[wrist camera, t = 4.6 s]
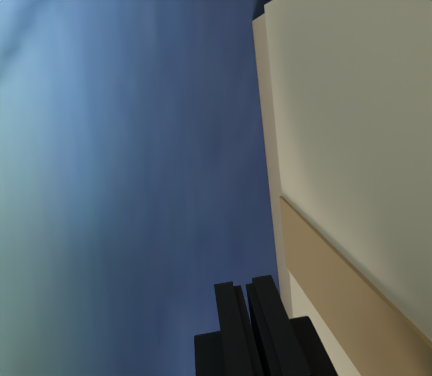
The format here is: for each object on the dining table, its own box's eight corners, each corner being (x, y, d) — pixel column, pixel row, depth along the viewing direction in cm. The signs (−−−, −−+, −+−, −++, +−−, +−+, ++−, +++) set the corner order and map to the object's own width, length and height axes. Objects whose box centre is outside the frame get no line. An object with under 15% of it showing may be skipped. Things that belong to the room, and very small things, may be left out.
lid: (1039, -373, 2) (916, -370, 2) (594, 952, 7) (552, 967, 7) (282, 2, 15) (261, 5, 15) (314, 395, 20) (298, 399, 20)
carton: (497, -14, 23) (650, -51, 16) (480, 270, 29) (588, 346, 21) (252, 21, 23) (285, 0, 15) (281, 302, 28) (316, 391, 21)
